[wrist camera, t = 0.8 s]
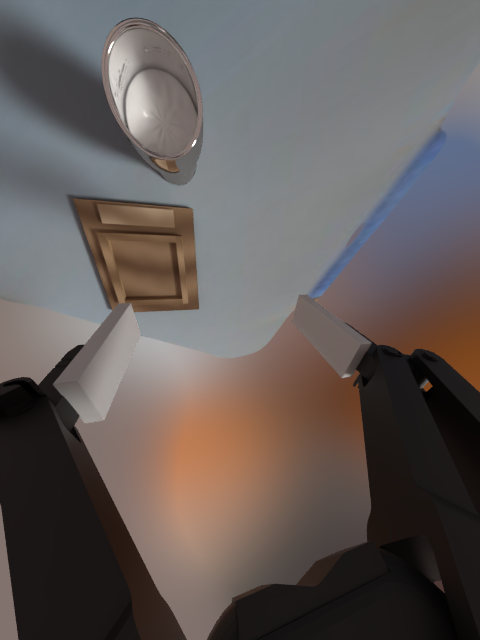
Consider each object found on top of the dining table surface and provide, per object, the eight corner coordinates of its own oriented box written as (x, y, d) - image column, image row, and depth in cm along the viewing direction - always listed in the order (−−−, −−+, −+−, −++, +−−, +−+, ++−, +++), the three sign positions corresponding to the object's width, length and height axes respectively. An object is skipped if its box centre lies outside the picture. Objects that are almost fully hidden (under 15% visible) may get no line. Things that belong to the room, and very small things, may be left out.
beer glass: (147, 178, 25) (101, 138, 13) (149, 112, 22) (91, -27, 9) (195, 195, 27) (197, 177, 15) (203, 138, 24) (213, 55, 12)
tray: (77, 199, 24) (67, 197, 22) (192, 209, 28) (192, 208, 26) (115, 310, 34) (110, 316, 31) (198, 306, 37) (199, 311, 35)
